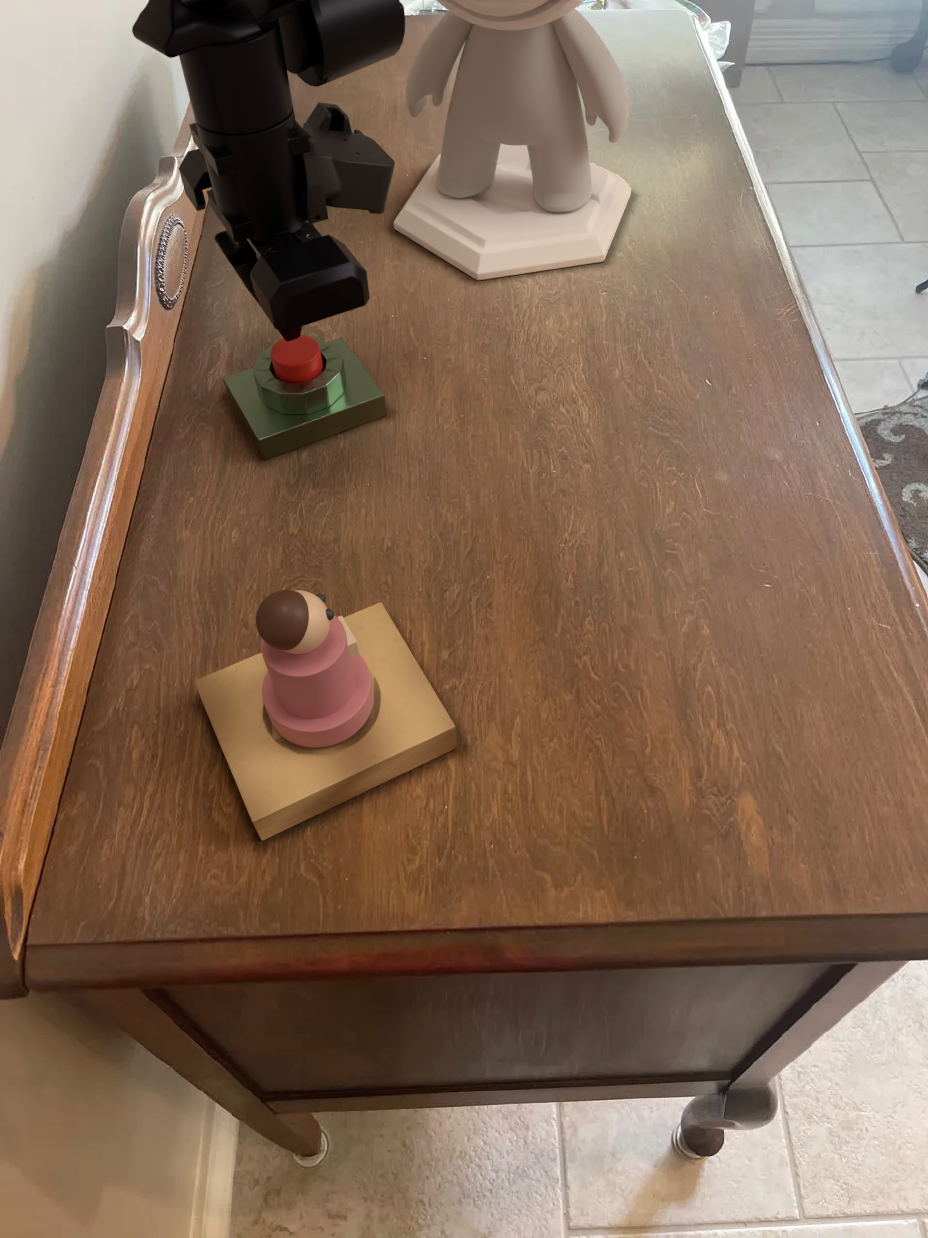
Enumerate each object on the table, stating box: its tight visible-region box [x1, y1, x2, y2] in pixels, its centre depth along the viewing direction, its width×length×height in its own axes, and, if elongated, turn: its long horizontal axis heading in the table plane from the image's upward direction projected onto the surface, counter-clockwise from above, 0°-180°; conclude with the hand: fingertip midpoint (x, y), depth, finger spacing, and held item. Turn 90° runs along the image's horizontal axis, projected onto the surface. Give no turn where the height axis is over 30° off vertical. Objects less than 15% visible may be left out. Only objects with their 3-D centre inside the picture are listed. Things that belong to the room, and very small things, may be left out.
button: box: [270, 334, 323, 383], centre depth 68 cm, size 4×4×2 cm
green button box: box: [222, 337, 388, 461], centre depth 70 cm, size 10×8×4 cm
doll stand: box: [193, 601, 458, 842], centre depth 53 cm, size 12×10×2 cm
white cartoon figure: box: [393, 0, 632, 281], centre depth 73 cm, size 20×23×35 cm
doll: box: [255, 589, 374, 748], centre depth 48 cm, size 6×6×10 cm
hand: (291, 337), depth 66 cm, fingers closed
